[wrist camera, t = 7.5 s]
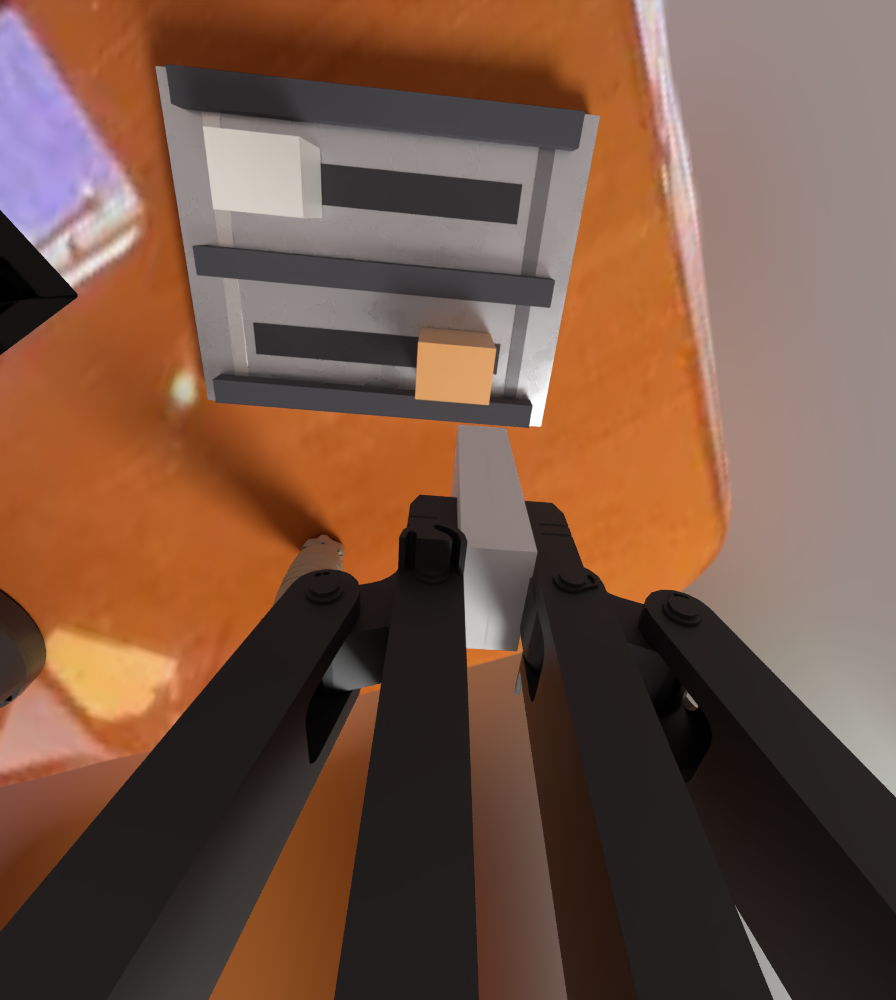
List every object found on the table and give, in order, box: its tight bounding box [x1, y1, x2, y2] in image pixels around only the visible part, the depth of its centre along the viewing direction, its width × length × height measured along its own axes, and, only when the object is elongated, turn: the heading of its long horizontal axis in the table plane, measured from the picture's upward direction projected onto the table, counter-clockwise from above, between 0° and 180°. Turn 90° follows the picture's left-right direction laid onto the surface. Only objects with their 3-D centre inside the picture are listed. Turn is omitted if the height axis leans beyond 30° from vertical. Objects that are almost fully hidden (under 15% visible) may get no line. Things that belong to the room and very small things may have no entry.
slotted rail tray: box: [165, 64, 585, 428], centre depth 27 cm, size 19×16×1 cm
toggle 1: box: [203, 126, 322, 218], centre depth 23 cm, size 4×3×4 cm
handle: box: [273, 535, 344, 606], centre depth 32 cm, size 5×6×15 cm
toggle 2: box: [415, 327, 496, 405], centre depth 28 cm, size 4×3×4 cm
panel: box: [155, 66, 600, 427], centre depth 28 cm, size 21×16×2 cm
